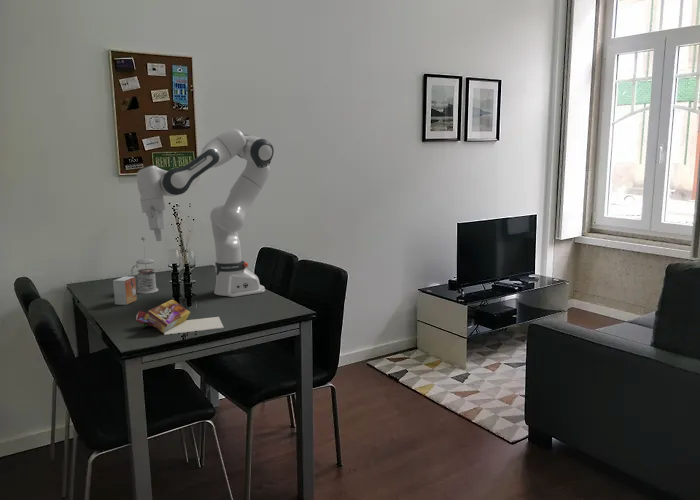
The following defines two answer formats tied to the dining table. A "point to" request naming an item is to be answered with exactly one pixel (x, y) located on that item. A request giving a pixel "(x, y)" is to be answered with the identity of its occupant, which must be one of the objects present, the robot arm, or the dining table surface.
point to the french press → (145, 276)
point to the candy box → (167, 315)
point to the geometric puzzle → (142, 318)
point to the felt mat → (196, 325)
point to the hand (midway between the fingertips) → (159, 241)
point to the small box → (124, 290)
